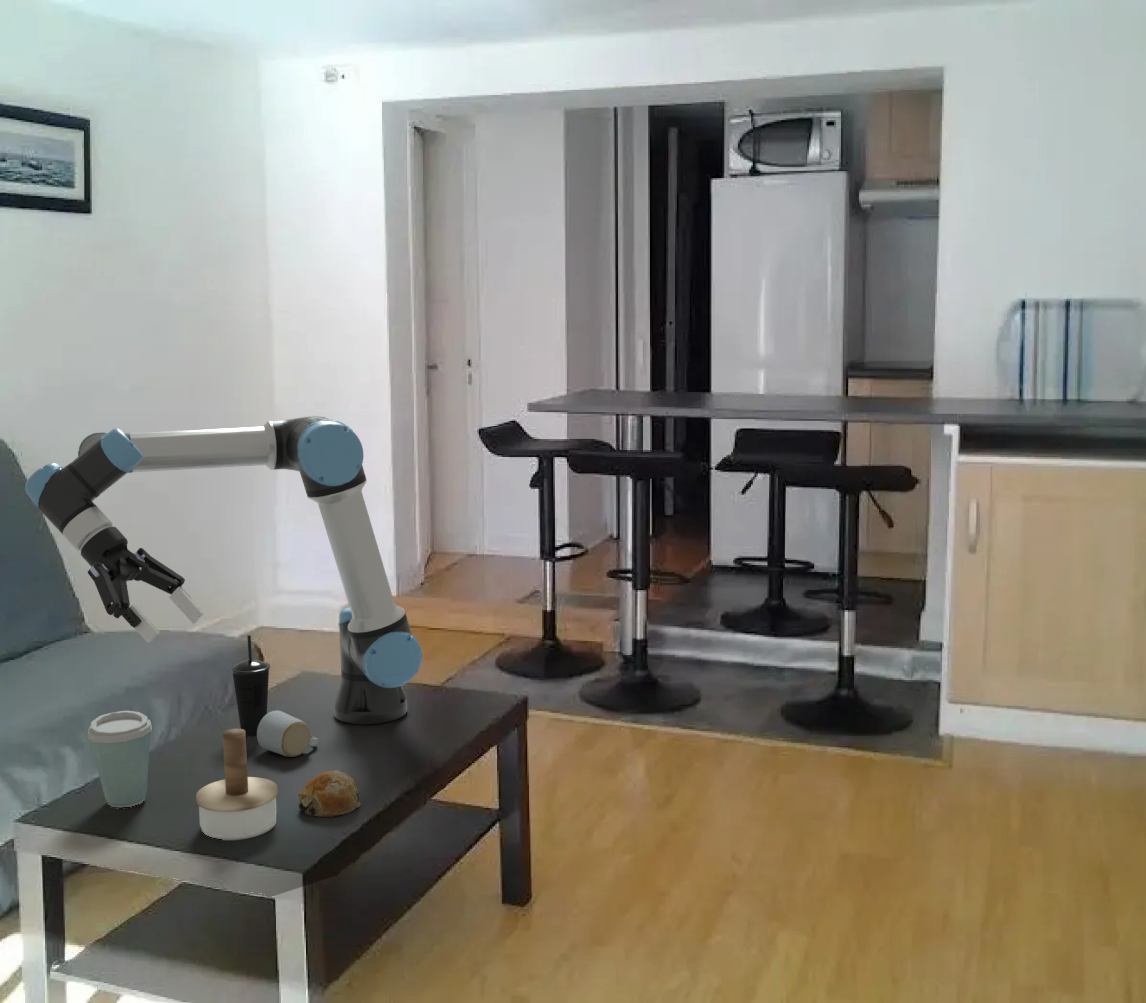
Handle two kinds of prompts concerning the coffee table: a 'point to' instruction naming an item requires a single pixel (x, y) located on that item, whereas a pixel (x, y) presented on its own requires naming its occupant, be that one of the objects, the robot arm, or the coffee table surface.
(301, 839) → the coffee table surface
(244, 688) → the drinking cup
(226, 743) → the lid
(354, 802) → the bread roll
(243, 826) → the bowl
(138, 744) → the disposable coffee cup
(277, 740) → the ceramic mug
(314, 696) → the coffee table surface
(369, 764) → the coffee table surface
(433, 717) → the coffee table surface
